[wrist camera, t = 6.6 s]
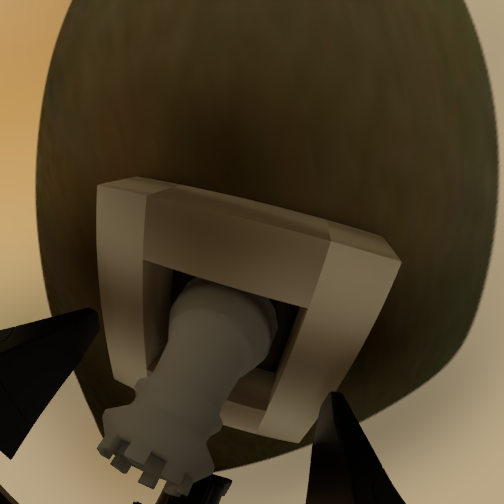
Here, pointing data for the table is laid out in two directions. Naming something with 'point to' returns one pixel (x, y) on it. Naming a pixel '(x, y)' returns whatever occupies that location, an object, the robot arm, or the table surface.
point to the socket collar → (243, 278)
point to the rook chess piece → (190, 385)
